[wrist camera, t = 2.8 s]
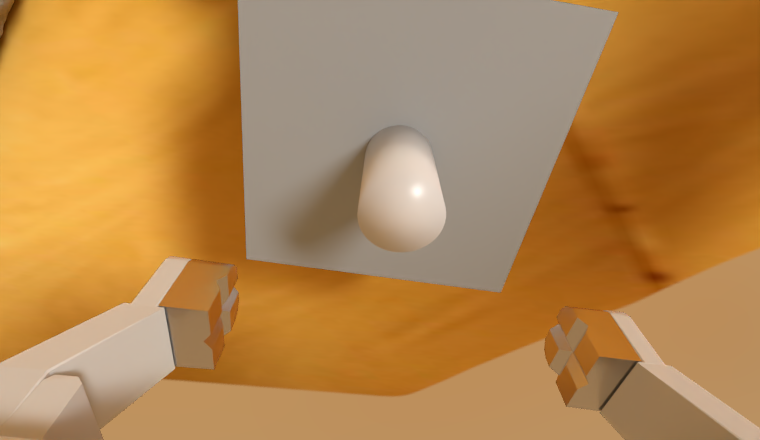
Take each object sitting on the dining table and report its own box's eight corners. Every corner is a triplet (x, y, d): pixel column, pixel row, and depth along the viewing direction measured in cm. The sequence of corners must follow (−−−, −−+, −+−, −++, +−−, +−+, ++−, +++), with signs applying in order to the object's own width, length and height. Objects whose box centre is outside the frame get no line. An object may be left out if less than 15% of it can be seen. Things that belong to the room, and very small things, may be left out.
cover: (522, -5, 25) (713, 28, 10) (464, 188, 32) (527, 370, 17) (302, -45, 24) (165, -71, 9) (294, 163, 31) (209, 332, 17)
